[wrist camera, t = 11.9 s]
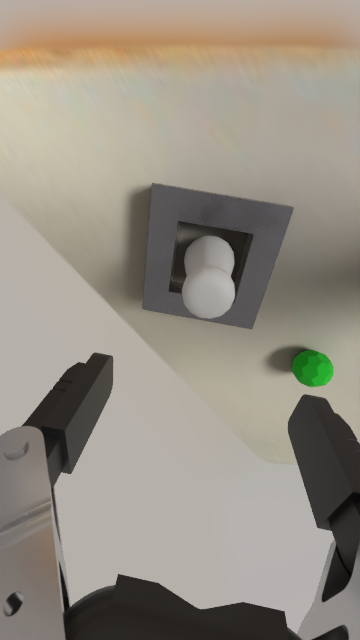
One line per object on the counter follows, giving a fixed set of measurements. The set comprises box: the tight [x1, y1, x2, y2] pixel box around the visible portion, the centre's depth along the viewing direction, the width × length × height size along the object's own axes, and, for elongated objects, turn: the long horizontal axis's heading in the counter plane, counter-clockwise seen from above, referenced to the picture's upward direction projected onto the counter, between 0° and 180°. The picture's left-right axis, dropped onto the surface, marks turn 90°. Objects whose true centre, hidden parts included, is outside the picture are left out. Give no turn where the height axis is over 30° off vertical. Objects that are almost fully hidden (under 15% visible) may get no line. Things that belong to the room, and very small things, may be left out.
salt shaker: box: [182, 236, 235, 319], centre depth 24 cm, size 6×6×13 cm
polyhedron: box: [292, 350, 333, 387], centre depth 33 cm, size 5×5×5 cm
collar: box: [142, 183, 294, 329], centre depth 28 cm, size 14×14×4 cm
